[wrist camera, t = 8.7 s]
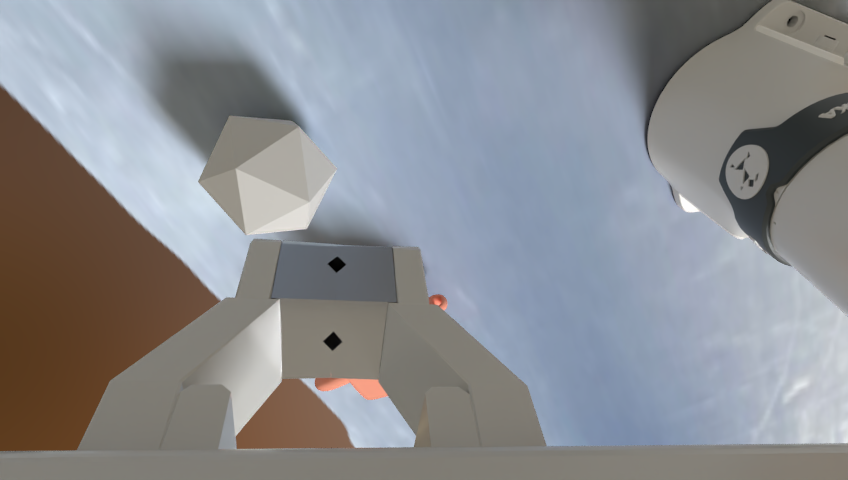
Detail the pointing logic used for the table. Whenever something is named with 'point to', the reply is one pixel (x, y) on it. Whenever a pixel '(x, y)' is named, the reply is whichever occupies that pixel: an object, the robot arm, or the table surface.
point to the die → (266, 174)
